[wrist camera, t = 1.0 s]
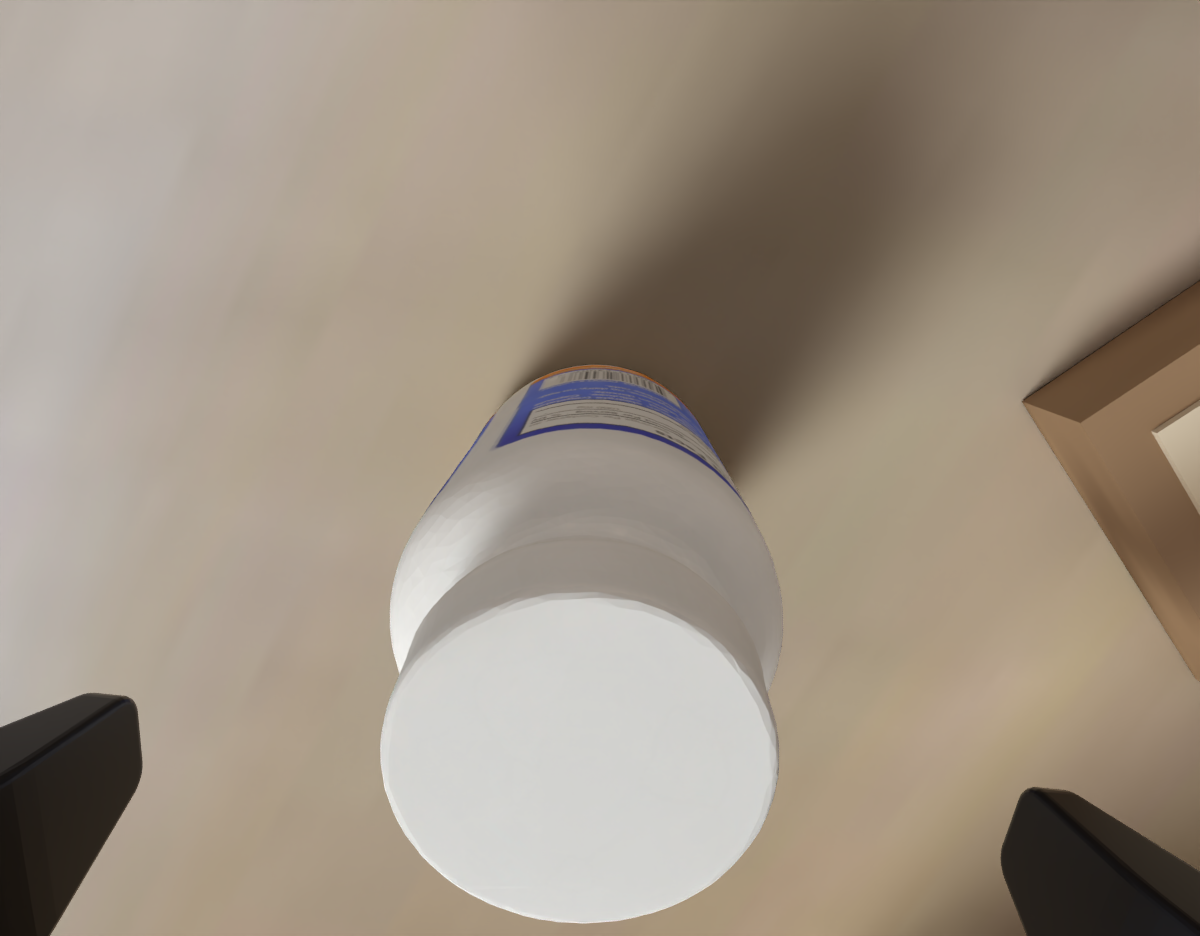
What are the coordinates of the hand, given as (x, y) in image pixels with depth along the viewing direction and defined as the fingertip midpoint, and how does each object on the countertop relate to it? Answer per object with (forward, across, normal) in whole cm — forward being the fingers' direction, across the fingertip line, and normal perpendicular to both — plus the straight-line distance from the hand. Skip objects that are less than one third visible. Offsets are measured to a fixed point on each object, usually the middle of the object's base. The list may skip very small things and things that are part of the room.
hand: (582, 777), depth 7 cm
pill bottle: (+10, 0, 0) cm, 10 cm away
